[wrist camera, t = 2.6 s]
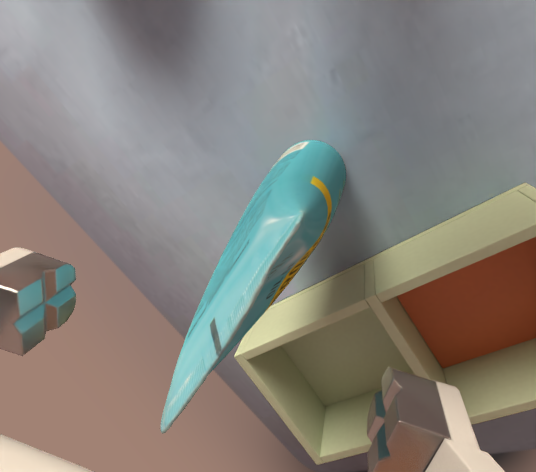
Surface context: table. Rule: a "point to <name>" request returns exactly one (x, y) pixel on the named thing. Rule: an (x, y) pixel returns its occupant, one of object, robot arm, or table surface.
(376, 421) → the robot arm
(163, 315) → the table surface
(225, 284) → the tube
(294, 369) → the tray
